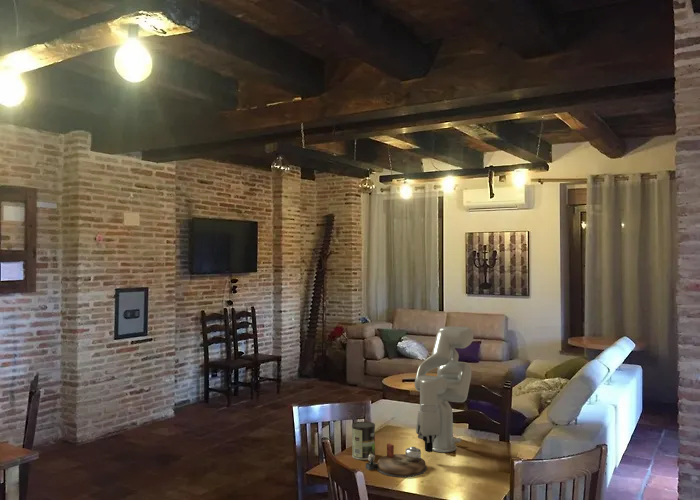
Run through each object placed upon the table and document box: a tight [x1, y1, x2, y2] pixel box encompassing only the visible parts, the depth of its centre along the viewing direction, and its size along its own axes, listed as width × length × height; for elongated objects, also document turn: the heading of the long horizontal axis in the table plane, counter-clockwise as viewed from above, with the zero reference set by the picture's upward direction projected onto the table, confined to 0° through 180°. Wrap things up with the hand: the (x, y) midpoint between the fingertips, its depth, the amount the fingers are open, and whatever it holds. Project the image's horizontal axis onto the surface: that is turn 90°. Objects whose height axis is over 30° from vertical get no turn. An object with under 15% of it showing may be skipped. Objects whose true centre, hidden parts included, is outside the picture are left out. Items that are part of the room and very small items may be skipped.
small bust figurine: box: [365, 454, 378, 471], centre depth 244 cm, size 4×3×6 cm
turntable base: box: [376, 463, 428, 478], centre depth 244 cm, size 21×21×1 cm
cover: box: [405, 446, 422, 462], centre depth 247 cm, size 6×6×5 cm
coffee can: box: [351, 421, 376, 461], centre depth 259 cm, size 10×10×14 cm
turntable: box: [377, 443, 426, 476], centre depth 244 cm, size 20×20×7 cm
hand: (428, 451), depth 250 cm, fingers closed
